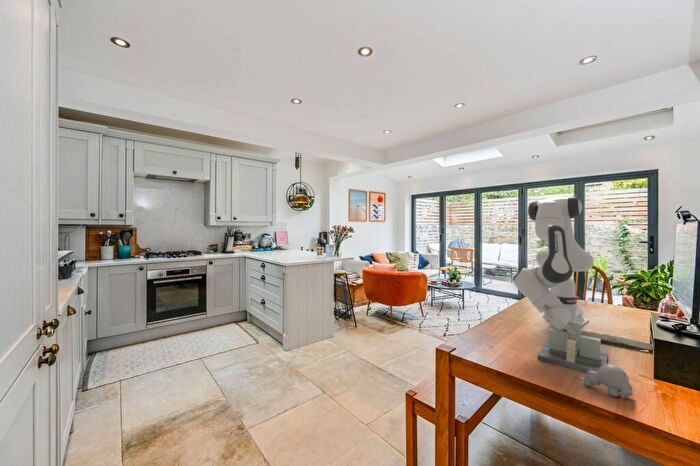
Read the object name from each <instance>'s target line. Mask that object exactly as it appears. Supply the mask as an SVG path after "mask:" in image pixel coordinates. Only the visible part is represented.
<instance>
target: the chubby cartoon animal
mask: <svg viewBox="0 0 700 466" xmlns="http://www.w3.org/2000/svg"><path fill="white" fill-rule="evenodd" d="M588 369H589V371H586V372H585V376H582V374H580V378H581V380H582V381H583V384H584V386H586V387H589V388H593V387H594V386H600V385H601V384H602V385H603V386H605V387H606V388H607V392H608V394H609V396H610V397H614V398H615V397H620V396H621V395H622V396H623V397H624V398H625V397H626V398H627V397H632V396H633V395H634V393H633V391H634V388H633V386H632V384H631V383H630V379H629V376H628V374H627V373H626V372H625V370H624V369H622V368H621V367H620V366H617V365H615V364H610V363H607V364H606V365H603V366H601V367H600V368H599V370H598V371H597V372H596V371H592V370H591V369H590V368H588Z"/></svg>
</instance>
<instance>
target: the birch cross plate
mask: <svg viewBox="0 0 700 466" xmlns="http://www.w3.org/2000/svg"><path fill="white" fill-rule="evenodd" d="M608 352H609V351H608V350H604V349H600V361H599V360H595V359H591V358H587V357H583V356H579V354H580V346H577V337H576V336H571V335H569V337H568V340H567V353H566V352H562V351H558V350H554V349H550V348H549V337H548V338H547V339H546V341H545V343H544V345H543V346H542V347H541V349H540V350H539V352H538V354H537V360H539V361H543V362H546V363H550V364H553V365H557V366H562V367H564V368H565V367H566V368H569V369H573V370H576V371H580V372H583V373H587V372H586V371H589V369H588V368H590V369H591V370H592V371H596V372H597V371H598V370H599V368H600V367H601V366H603V365H606V364H608Z"/></svg>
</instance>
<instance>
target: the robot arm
mask: <svg viewBox="0 0 700 466" xmlns="http://www.w3.org/2000/svg"><path fill="white" fill-rule="evenodd" d="M582 209H583V205H582V202H581V200H580V199H579V198H578V196H568V197H567V196H566V197H565V196H564V197H552V198H547V199H541V200H534V201H531V202H529V204H528V208H527V216H528V217H529V219H530V220H531V221H533V222H534V230H535V231H534V232H535V235H536V237H538V238H539V239H540V240H542V241H544V242H547V248H545V249H540V250H538V252H537V254H536V256H535V260H536V262H537V265H539V266H536V267H528V268H526V267H523V268H521V269H520V270H518V271H517V272H516V274H514V275H513V277H512V283H513V284H514V286H515V287H516V288H517V290H519V292H520V293H521V294H522V295H523V296H524V297H526V298H527V299H528V300H529V302H530V303H531V305H532V306H534V308H536V310H537V311H538V312H539V313H540V314H543V315H542V317H543V318H545V320H547V321H548V322H549V323H550V324H551V325H552V326H553V328H555V330H559V331H562V329H563V330H564V329H565V330H567V331H568V332H570V333H571V334H572V335H573V336H574V335H576V334H577V332H576V331H575V330H574V329H573V328H572V327H571V326H570V325H569V324H568V322H569V320H571V321H576V322H581V327H583V326H584V325H585V324H588V323H589V318H587V317H584V310H583V308H581V307H580V305H578V301H579V299H580V297H579V296H577V295H576V282H575V281H574V280H573V278H572V276H573V273H574V272H588V271H590V270H591V269H592V268H593V266H594V264H595V261H594V257H593V255H592V254H591V253H590V252H587V251H586V250H585V249H583V248H582V247H581V246H580V245H579V244H578V243H577V241H576V238H575V236H574V230H573V223H572V219H575V218H578V217H579V216H580V215H581V213H582Z"/></svg>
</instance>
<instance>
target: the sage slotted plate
mask: <svg viewBox="0 0 700 466" xmlns="http://www.w3.org/2000/svg"><path fill="white" fill-rule="evenodd" d="M568 324H569V325H570V326H571V327H572V328H573V329H574V330H575V331H576V332H577V334H576V335H574V336H576V337H577V346H580V354H579V356H583V357H587V358H591V359H595V360H599V361H600V350H601V344H602V343H601V339H598V338H593V337H588V336H583V335H581V331H582V329H581V328H582V326H581V322H576V321H571V320H569V322H568ZM569 335H571V336H573V335H572V334H571V333H570V332H568V331H567V332H564V330H557V329H554V328H549V330H548V338H549V348H550V349H554V350H558V351H562V352H566V353H567V340H568V337H569Z"/></svg>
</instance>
